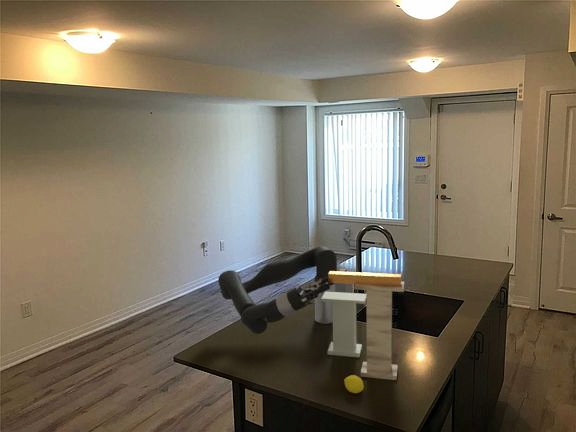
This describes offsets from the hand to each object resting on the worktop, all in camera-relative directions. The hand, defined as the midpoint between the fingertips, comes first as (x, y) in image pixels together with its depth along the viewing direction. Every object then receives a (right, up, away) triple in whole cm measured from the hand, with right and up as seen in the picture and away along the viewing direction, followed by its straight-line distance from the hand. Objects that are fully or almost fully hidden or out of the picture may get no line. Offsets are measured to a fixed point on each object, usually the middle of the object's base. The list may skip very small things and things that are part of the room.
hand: (330, 281), depth 164 cm
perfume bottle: (+12, -21, +66) cm, 70 cm away
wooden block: (+11, 0, -3) cm, 11 cm away
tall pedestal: (+17, -32, +1) cm, 36 cm away
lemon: (+7, -34, -10) cm, 36 cm away
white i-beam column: (+7, -29, +18) cm, 35 cm away
